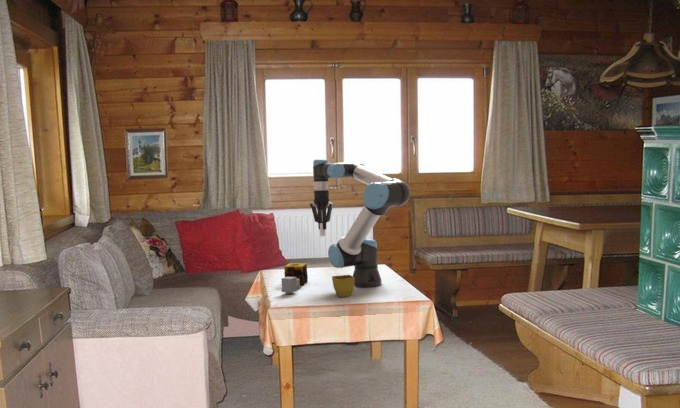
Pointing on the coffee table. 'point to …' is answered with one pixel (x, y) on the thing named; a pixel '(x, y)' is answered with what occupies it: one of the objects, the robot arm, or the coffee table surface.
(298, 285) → the oak post
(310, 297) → the coffee table surface
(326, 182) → the robot arm
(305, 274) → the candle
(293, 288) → the grey matte cube
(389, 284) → the coffee table surface
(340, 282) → the flower pot
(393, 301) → the coffee table surface
